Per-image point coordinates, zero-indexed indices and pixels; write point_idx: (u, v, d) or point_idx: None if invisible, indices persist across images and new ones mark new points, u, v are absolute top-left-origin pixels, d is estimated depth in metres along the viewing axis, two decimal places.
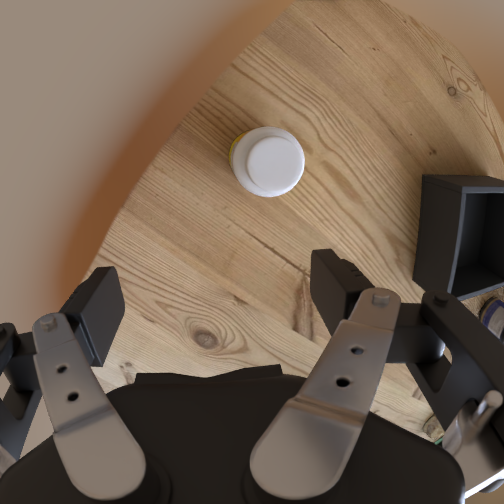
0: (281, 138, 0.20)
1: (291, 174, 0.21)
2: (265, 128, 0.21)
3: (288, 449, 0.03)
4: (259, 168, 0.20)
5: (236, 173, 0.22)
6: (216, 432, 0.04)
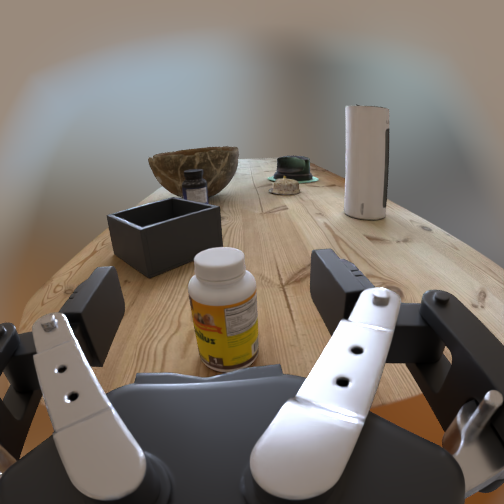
0: (196, 261, 0.23)
1: (217, 249, 0.25)
2: (196, 293, 0.23)
3: (288, 449, 0.03)
4: (230, 259, 0.23)
5: (250, 288, 0.23)
6: (216, 432, 0.04)
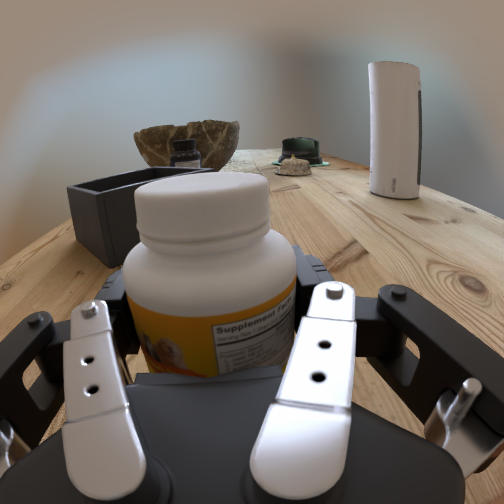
0: (138, 191, 0.08)
1: (200, 175, 0.10)
2: (135, 278, 0.08)
3: (288, 449, 0.03)
4: (231, 182, 0.08)
5: (285, 267, 0.08)
6: (216, 432, 0.04)
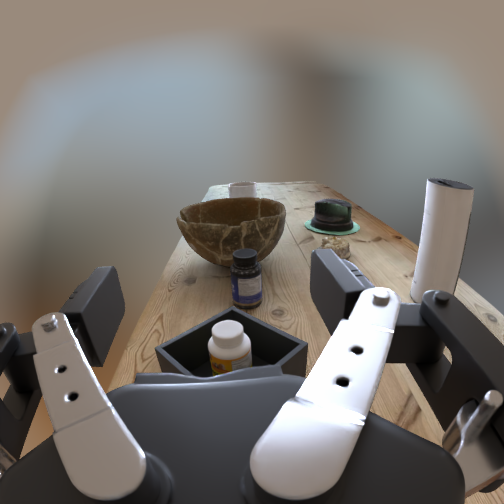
0: (213, 333, 0.36)
1: (226, 322, 0.38)
2: (214, 351, 0.36)
3: (288, 449, 0.03)
4: (234, 331, 0.36)
5: (246, 348, 0.37)
6: (216, 432, 0.04)
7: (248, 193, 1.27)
